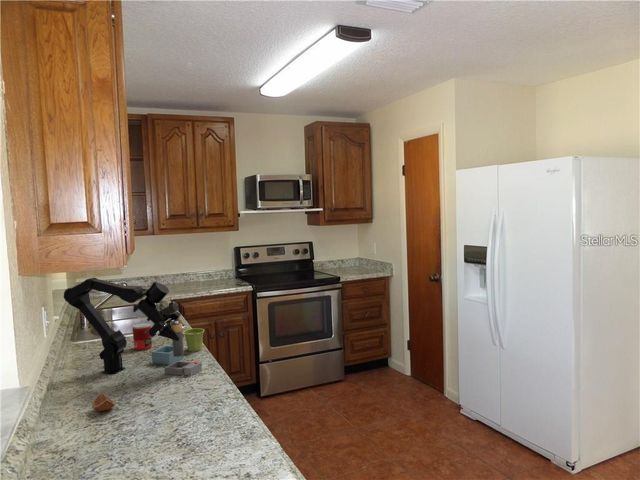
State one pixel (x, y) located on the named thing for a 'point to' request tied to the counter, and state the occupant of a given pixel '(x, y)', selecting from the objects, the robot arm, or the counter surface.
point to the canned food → (142, 336)
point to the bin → (164, 356)
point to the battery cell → (178, 344)
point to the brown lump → (102, 403)
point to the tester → (183, 368)
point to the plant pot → (194, 339)
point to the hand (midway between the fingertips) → (180, 338)
